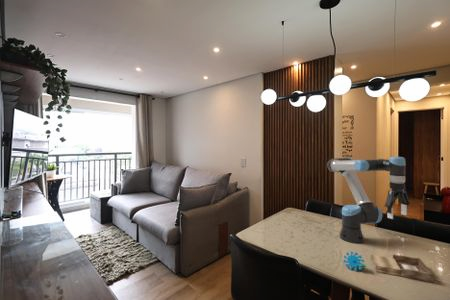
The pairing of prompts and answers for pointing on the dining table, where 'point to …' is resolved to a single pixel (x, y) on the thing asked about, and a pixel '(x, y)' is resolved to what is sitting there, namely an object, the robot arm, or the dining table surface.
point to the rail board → (402, 267)
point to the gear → (354, 261)
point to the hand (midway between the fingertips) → (397, 216)
